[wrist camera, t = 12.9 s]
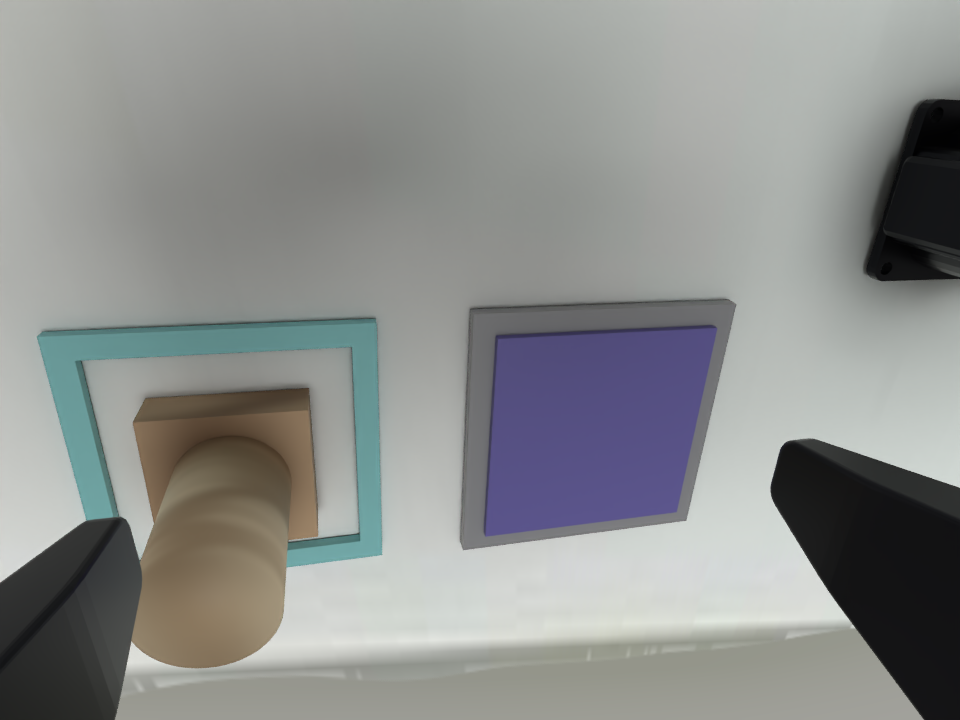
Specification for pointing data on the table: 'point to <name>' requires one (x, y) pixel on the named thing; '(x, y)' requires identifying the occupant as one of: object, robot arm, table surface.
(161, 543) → the stamp
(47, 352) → the teal flat square frame
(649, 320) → the ink pad
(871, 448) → the table surface
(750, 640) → the table surface
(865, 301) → the table surface
